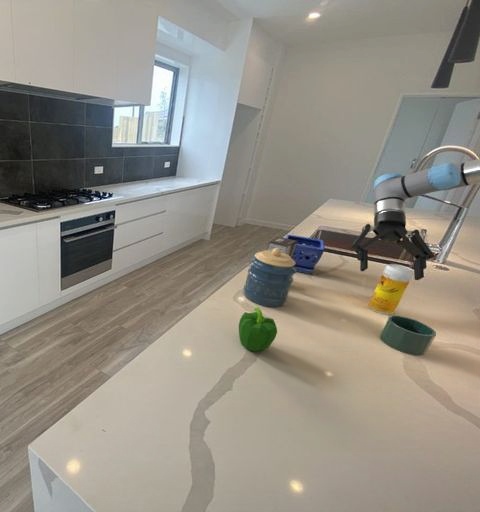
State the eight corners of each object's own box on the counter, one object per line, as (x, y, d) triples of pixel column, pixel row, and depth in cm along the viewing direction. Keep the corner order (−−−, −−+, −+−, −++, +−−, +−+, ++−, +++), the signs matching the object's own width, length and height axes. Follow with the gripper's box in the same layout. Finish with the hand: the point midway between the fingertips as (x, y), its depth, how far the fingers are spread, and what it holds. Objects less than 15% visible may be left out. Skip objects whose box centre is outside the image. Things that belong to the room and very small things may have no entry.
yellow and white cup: (363, 304, 98) (381, 262, 92) (383, 306, 97) (403, 264, 91) (376, 314, 92) (397, 270, 86) (398, 316, 91) (420, 272, 86)
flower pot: (276, 268, 122) (284, 241, 117) (279, 258, 132) (286, 233, 127) (315, 277, 115) (325, 249, 110) (315, 266, 125) (324, 240, 120)
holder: (414, 339, 81) (424, 320, 79) (432, 359, 74) (444, 340, 71) (374, 330, 84) (382, 312, 82) (388, 349, 77) (398, 330, 74)
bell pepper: (273, 360, 71) (284, 325, 68) (236, 351, 74) (245, 317, 70) (267, 339, 79) (277, 307, 75) (234, 332, 81) (242, 300, 77)
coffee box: (267, 274, 116) (278, 235, 110) (285, 281, 112) (298, 240, 105) (257, 281, 110) (268, 240, 104) (276, 288, 106) (289, 246, 100)
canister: (246, 284, 108) (258, 238, 101) (287, 295, 101) (303, 247, 94) (238, 299, 98) (251, 249, 91) (283, 312, 91) (301, 260, 84)
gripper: (429, 227, 99) (434, 286, 92) (339, 216, 107) (337, 270, 100) (447, 215, 92) (454, 278, 85) (349, 205, 101) (348, 261, 94)
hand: (390, 274), depth 93 cm, fingers open, 13 cm apart
